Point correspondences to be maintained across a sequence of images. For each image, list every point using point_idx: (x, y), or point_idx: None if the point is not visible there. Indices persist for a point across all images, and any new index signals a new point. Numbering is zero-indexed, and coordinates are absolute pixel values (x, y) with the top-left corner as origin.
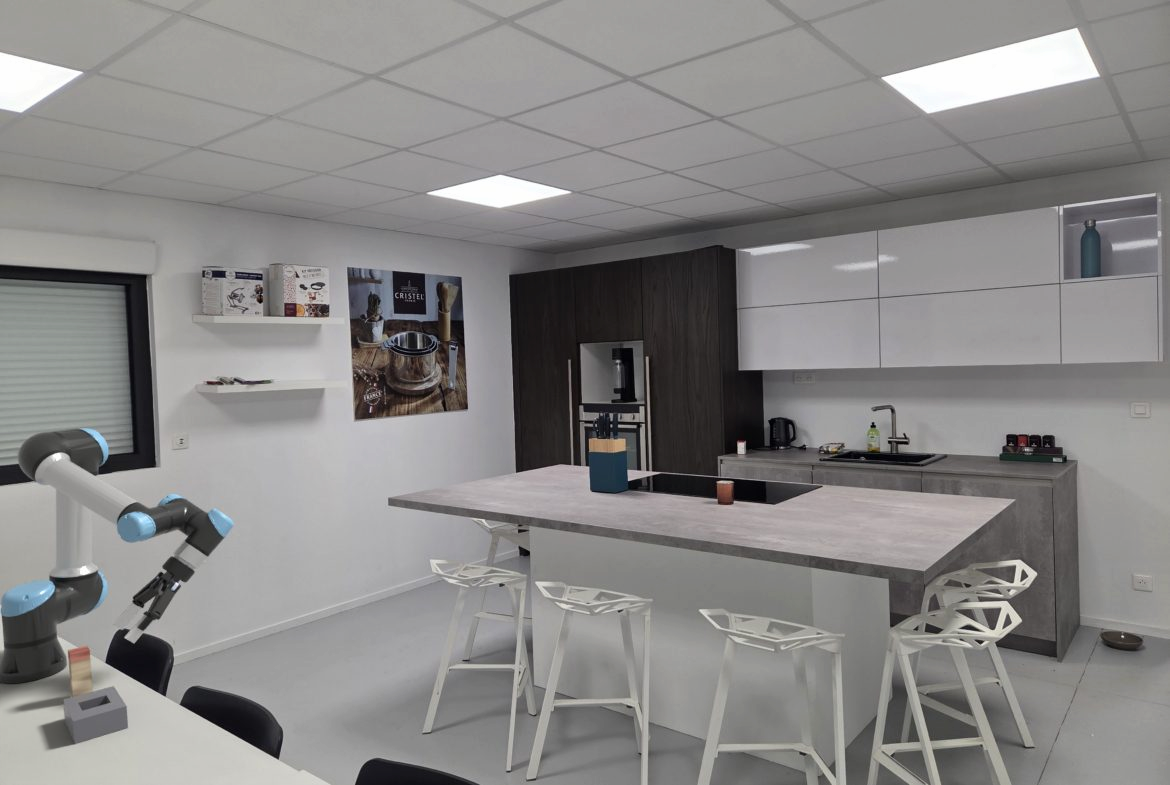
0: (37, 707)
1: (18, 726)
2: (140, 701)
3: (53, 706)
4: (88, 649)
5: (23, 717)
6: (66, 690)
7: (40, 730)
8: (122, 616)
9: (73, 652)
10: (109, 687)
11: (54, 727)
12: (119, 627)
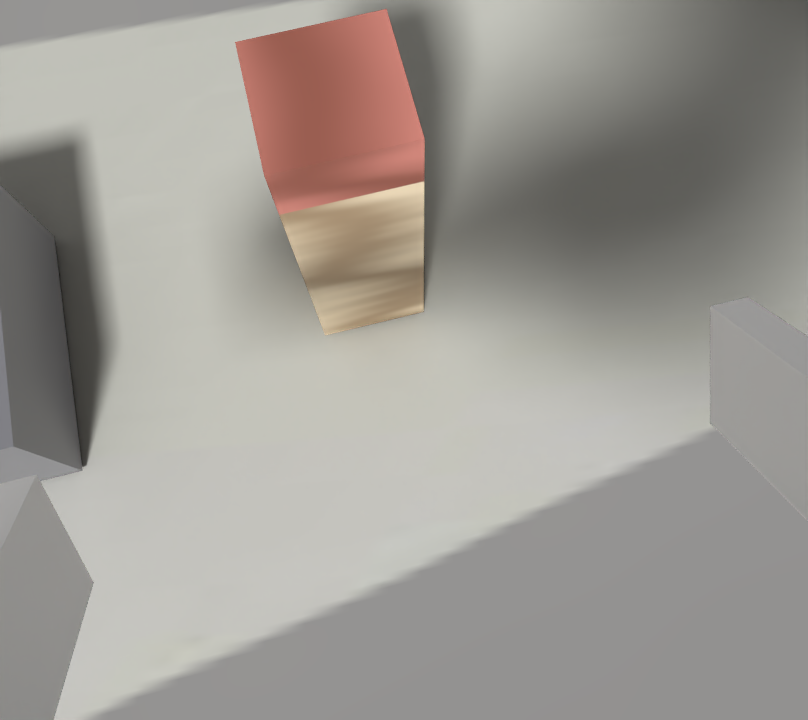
0: None
1: (153, 53)
2: None
3: None
4: (282, 164)
5: None
6: (555, 186)
7: (23, 149)
8: (796, 386)
9: (274, 58)
10: (3, 421)
11: None
12: (716, 382)
